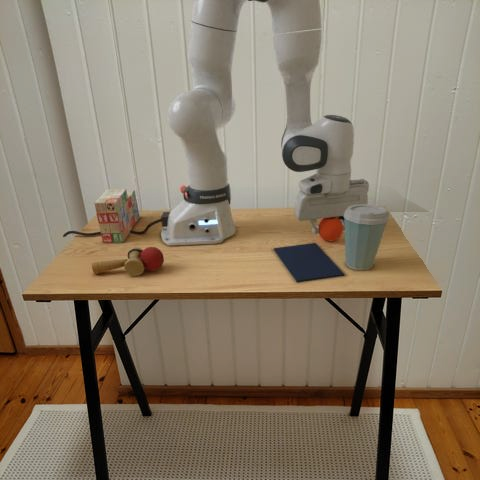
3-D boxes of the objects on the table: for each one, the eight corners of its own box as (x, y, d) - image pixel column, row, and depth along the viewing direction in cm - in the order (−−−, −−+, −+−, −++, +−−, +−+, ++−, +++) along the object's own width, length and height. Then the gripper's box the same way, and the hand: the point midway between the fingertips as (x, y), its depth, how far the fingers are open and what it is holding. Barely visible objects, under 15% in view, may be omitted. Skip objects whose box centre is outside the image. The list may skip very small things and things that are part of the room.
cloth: (297, 282, 108) (297, 280, 108) (273, 249, 125) (273, 248, 124) (344, 275, 110) (344, 274, 110) (315, 244, 127) (315, 242, 126)
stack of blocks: (121, 217, 151) (114, 180, 145) (140, 217, 151) (133, 180, 144) (102, 243, 133) (93, 202, 127) (123, 242, 133) (115, 201, 126)
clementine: (314, 234, 132) (315, 211, 129) (337, 233, 133) (339, 209, 129) (320, 245, 126) (321, 221, 122) (344, 244, 126) (347, 219, 122)
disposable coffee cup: (335, 256, 119) (340, 200, 111) (377, 255, 119) (385, 199, 111) (342, 275, 110) (347, 215, 102) (387, 274, 110) (396, 214, 102)
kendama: (94, 286, 113) (164, 271, 113) (86, 262, 111) (158, 247, 110) (101, 277, 120) (167, 263, 120) (93, 254, 118) (161, 240, 118)
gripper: (364, 175, 125) (359, 223, 132) (293, 182, 121) (291, 231, 129) (374, 181, 119) (368, 231, 127) (300, 189, 116) (299, 239, 123)
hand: (329, 231), depth 128 cm, fingers closed on clementine, 7 cm apart
